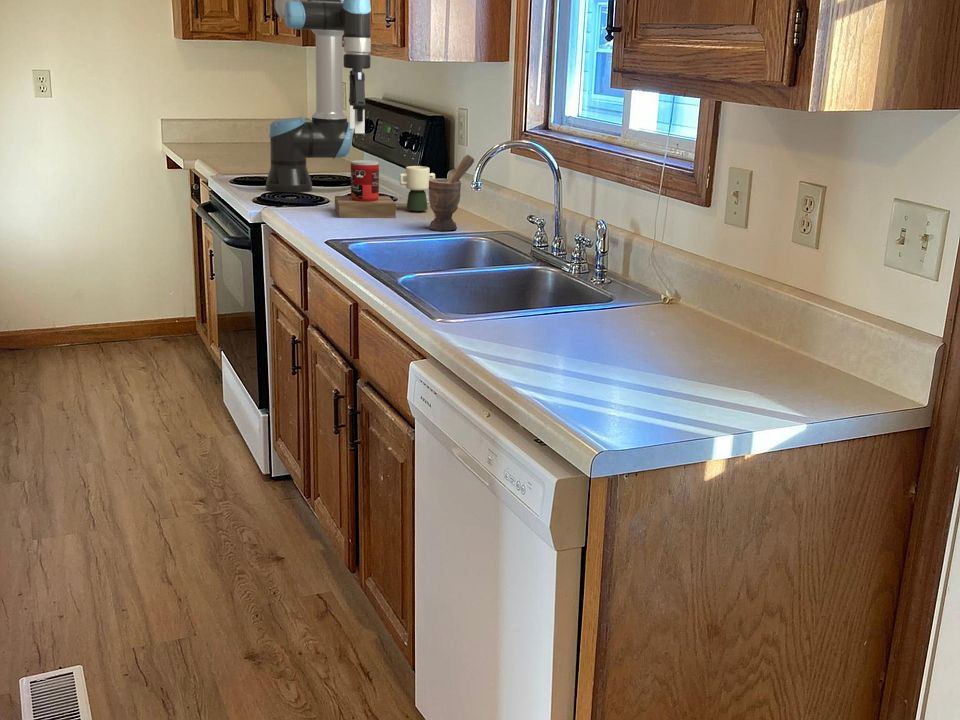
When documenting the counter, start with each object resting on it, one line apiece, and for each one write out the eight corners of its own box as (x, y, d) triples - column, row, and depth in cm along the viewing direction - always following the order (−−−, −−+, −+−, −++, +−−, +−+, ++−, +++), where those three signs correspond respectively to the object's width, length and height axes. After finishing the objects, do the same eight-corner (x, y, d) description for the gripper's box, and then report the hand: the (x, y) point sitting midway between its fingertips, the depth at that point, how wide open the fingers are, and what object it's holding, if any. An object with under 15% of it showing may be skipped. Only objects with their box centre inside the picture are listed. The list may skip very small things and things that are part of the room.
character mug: (430, 209, 304) (431, 165, 300) (438, 212, 298) (438, 168, 294) (396, 210, 301) (396, 166, 297) (402, 213, 294) (403, 168, 290)
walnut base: (335, 209, 298) (334, 195, 297) (388, 209, 301) (388, 195, 300) (339, 217, 283) (339, 203, 282) (395, 217, 286) (395, 203, 285)
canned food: (347, 198, 292) (347, 160, 289) (373, 197, 295) (373, 159, 292) (355, 202, 286) (355, 163, 282) (382, 201, 289) (382, 162, 286)
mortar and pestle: (461, 225, 277) (463, 152, 272) (475, 230, 270) (477, 155, 264) (423, 227, 272) (424, 152, 266) (436, 232, 265) (437, 155, 259)
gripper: (339, 52, 292) (339, 126, 299) (347, 54, 269) (348, 135, 275) (365, 52, 294) (365, 127, 300) (375, 55, 271) (375, 135, 277)
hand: (357, 131), depth 288 cm, fingers open, 13 cm apart
